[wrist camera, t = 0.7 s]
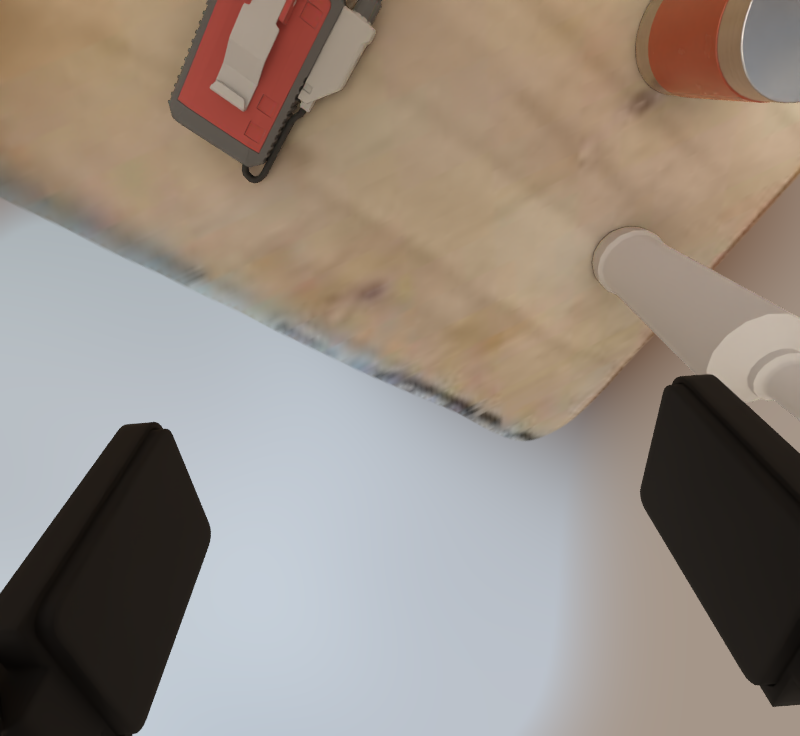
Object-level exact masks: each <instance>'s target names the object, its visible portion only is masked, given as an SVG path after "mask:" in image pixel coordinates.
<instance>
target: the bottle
mask: <svg viewBox="0 0 800 736" xmlns="http://www.w3.org/2000/svg"><path fill="white" fill-rule="evenodd" d="M592 265H593V270H594V274H595V277H596V279H597V280H598V281H599V282H600V283H601V284H602V286H603V287H604V288H605V289H606V290H607V291H609V292H611V293H613V294H616V295H617V296H618V297H619V298H620V299H621V300H622V301H623V302H624V303H625V304H626V305H627V306H628V307H629V308H630V309H631V310H632V311H633V312H634V313H635V314H636V315H637V316H638V317H639V318H640V319H641V320H642V321H643V322H644V323H645V324H646V325H647V326H648V327H649V328H650V329H651V330H652V331H653V332H654V333H655V334H656V335H657V336H658V337H659V338H660V339H661V340H662V341H663V342H664V343H665V344H666V345H667V346H668V347H669V348H670V349H671V350H672V351H673V352H674V353H675V354H676V355H677V356H678V357H679V358H680V359H681V360H682V361H683V362H684V363H685V364H686V365H687V366H688V367H689V368H690V369H691V370H692V371H693V372H694V373H695V374H696V375H703V374H711V375H714V376H716V377H717V378H718V379H719V380H720V381H721V382H723V383H724V384H725V385H726V386H727V387H728V388H729V389H730V390H731V391H732V392H733V393H735V394H736V395H737V396H738V397H739V398H740V399H741V400H742V401H743V402H753V401H756V400H759V399H764V400H766V401H774V400H775V401H776V402H777V403H778V404H780V405H781V406H782V407H783V408H784V409H786V410H787V411H788V412H789V413H791V414H792V415H793V416H794V417H796V418H797V419H798V420H799V421H800V317H798V316H796V315H794V314H792V313H791V312H789V311H787V310H785V309H783V308H781V307H779V306H778V305H776V304H774V303H772V302H770V301H768V300H767V299H765V298H763V297H761V296H759V295H757V294H756V293H754V292H752V291H750V290H748V289H746V288H745V287H743V286H741V285H739V284H737V283H735V282H733V281H732V280H730V279H728V278H726V277H724V276H723V275H721V274H719V273H717V272H715V271H713V270H712V269H710V268H708V267H706V266H704V265H702V264H701V263H699V262H697V261H695V260H693V259H691V258H690V257H688V256H686V255H684V254H682V253H680V252H679V251H677V250H675V249H673V248H671V247H669V246H668V245H666V244H664V243H663V241H662V240H661V239H660V237H659V236H658V235H656V234H654V233H652V232H650V231H648V230H646V229H643V228H641V227H623V228H620V229H618V230H615V231H613V232H611V233H609V234H608V235H607V236H606V237H605V238H604V239H602V240H601V241H600V243H599V245H598V246H597V248H596V250H595V251H594V256H593V261H592Z"/></svg>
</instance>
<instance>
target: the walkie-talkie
mask: <svg viewBox="0 0 800 736" xmlns="http://www.w3.org/2000/svg"><path fill="white" fill-rule="evenodd" d="M381 1H382V0H358V1H357V3H356V5H355V7H354V9H353V10H352V11H351V10H350V9H349V8H348V7H347V6H346V0H208V1H207V3H206V4H207V5H208V6H207V8H206V11H203V15H204V16H203V18H202V21H201V20H200V21H199V24H200V26H199V28H198V30H196V31H195V33H196V36H195V38H194V39H192V46H191V48H189V49H188V52H189V54H188V56H187V57H185V59H184V60H185V64H184V66H182V67H181V69H182V71H181V74H180V75H178V81H177V83H175V85H174V86H175V89H174V91H173V92H171V95H172V96H171V99H170V100H168V103H169V106H170V110H171V113H172V117H173V118H174V119H175V120H176V121H177V122H178V123H180V124H181V125H183V126H184V127H186V128H188V129H189V130H191V131H192V132H194V133H195V134H197V135H198V136H200V137H201V138H203V139H205V140H206V141H208V142H209V143H211V144H212V145H214V146H215V147H217V148H218V149H220V150H222V151H223V152H225V153H226V154H228V155H229V156H231V157H232V158H234V159H236V160H237V161H239V162H240V163H242V172H243V176H244V177H245V178H246V179H247V180H248V181H249V182H252V183H258V182H260V181H262V180H263V179H264V178H265V177H266V176H267V174H268V172H269V170H270V169H271V167H272V165H273V163H274V161H275V159H276V157H277V155H278V153H279V151H280V149H281V147H282V145H283V143H284V141H285V139H286V137H287V135H288V134H289V132H290V130H291V128H292V126H293V125H294V123H295V122H296V121H297V120H298V119H299V118H301V117H303V116H304V114H305V113H306V112H310V111H311V109H312V107H313V105H314V104H315V102H316V100H318V99H320V98H323V97H325V96H328V95H330V94H333V93H335V92H337V91H340V90H343V88H344V86H345V84H346V83H347V81H348V79H349V77H350V75H351V74H352V72H353V70H354V68H355V66H356V64H357V63H358V61H359V59H360V57H361V55H362V54H363V52H364V50H365V48H366V46H367V45H369V44H371V42H372V40H373V38H374V37H375V35H376V30H375V29H374V28H372V27H371V25H372V23H373V21H374V20H375V18H376V16H377V14H378V12H379V10H380V8H381ZM300 100H301V101H302V102H301V104H300V107H301V108H300V110H299V111H298V112H297V113H295V114H294V115H293V113H292V112H293V110H294V109H296V107H297V106H296V104H297V102H298V101H300ZM289 118H290V119H289ZM266 161H267V162H266ZM265 162H266V164H265V166H264V168H263V170H262V172H261V173H260V175H258V176H253V175H252V174H251V173H250V172H249V167H253V166H256V165H260V164H264V163H265Z"/></svg>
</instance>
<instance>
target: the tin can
mask: <svg viewBox="0 0 800 736" xmlns="http://www.w3.org/2000/svg"><path fill="white" fill-rule="evenodd" d="M636 60H637V65H638V68H639V71H640V73H641V76H642V77H643V79H644V80H645V82H646V83H647V84H648V85H649V86H650V87H651V88H653V89H654V90H656V91H658V92H660V93H662V94H666V95H673V96H680V97H687V98H701V99H715V100H729V101H744V102H758V103H764V102H778V103H796V102H800V0H652V1H651V2H650V4H649V6H648V7H647V9H646V11H645V13H644V15H643V17H642V20H641V22H640V26H639V29H638V33H637V38H636Z"/></svg>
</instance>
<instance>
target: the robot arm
mask: <svg viewBox="0 0 800 736" xmlns="http://www.w3.org/2000/svg"><path fill="white" fill-rule="evenodd" d="M640 495H641V501H642V503H643V506H644V508H645V510H646V512H647V514H648V515H649V517H650V519H651V520H652V522H653V523H654V525H655V527H656V529H657V530H658V532H659V533H660V535H661V537H662V539H663V540H664V542H665V544H666V545H667V547H668V549H669V550H670V552H671V554H672V555H673V557H674V559H675V560H676V562H677V564H678V565H679V567H680V569H681V570H682V572H683V574H684V575H685V577H686V579H687V580H688V582H689V584H690V585H691V587H692V589H693V590H694V592H695V594H696V595H697V597H698V599H699V600H700V602H701V604H702V605H703V607H704V609H705V611H706V612H707V614H708V615H709V617H710V619H711V621H712V622H713V624H714V626H715V627H716V629H717V631H718V632H719V634H720V636H721V637H722V639H723V640H724V642H725V644H726V645H727V647H728V649H729V650H730V652H731V654H732V656H733V657H734V659H735V660H736V662H737V664H738V666H739V667H740V669H741V671H742V672H743V674H744V675H745V677H746V678H747V679H748V680H749V681H750V682H751V683H753V684H754V685H760V687H761V689H762V690H763V692H764V693H765V695H766V697H767V698H768V700H769V702H770V703H771V705H772V706H773V707H776V706H789V705H800V453H798V452H797V451H796V450H795V449H794V448H793V447H792V446H791V445H790V444H789V443H788V442H786V441H785V440H784V439H783V438H782V437H781V436H780V435H779V434H778V433H777V432H776V431H775V430H774V429H773V428H771V427H770V426H769V425H768V424H767V423H766V422H765V421H764V420H763V419H761V417H759V416H758V415H757V414H756V413H755V412H754V411H753V410H752V409H751V408H750V407H749V406H747V405H746V404H745V403H744V402H743V401H742V400H741V399H740V398H739V397H738V396H737V395H736V394H735V393H733V392H732V391H731V390H730V389H729V388H728V387H727V386H726V385H725V384H724V383H723V382H721V381H720V380H719V379H718V378H717V377H716V376H714V375H711V374H703V375H692V376H680V377H677V378H676V379H675V380H674V381H673V383H672V385H669V386H667V387H666V388H665V389H664V392H663V395H662V400H661V404H660V408H659V413H658V417H657V421H656V425H655V429H654V433H653V438H652V442H651V446H650V451H649V455H648V459H647V463H646V468H645V472H644V476H643V480H642V484H641V489H640ZM210 538H211V531H210V526H209V522H208V520H207V517H206V515H205V513H204V510H203V508H202V505H201V503H200V500H199V498H198V495H197V493H196V491H195V488H194V486H193V484H192V481H191V479H190V476H189V474H188V471H187V469H186V466H185V464H184V461H183V459H182V457H181V454H180V452H179V449H178V447H177V444H176V442H175V440H174V437H173V435H172V433H171V431H170V430H168V429H163V428H162V426H161V425H160V424H159V423H156V422H150V423H139V424H127V425H124V426H122V427H121V428H120V429H119V430H118V432H117V433H116V434H115V436H114V437H113V438H112V440H111V441H110V443H109V444H108V445H107V447H106V448H105V449H104V451H103V452H102V454H101V455H100V456H99V458H98V459H97V460H96V462H95V463H94V465H93V466H92V467H91V469H90V470H89V471H88V473H87V474H86V476H85V477H84V479H83V480H82V481H81V483H80V484H79V485H78V487H77V488H76V489H75V491H74V492H73V494H72V495H71V496H70V498H69V499H68V501H67V502H66V503H65V505H64V506H63V508H62V509H61V510H60V512H59V513H58V514H57V516H56V517H55V519H54V520H53V521H52V523H51V524H50V525H49V527H48V528H47V530H46V531H45V532H44V534H43V535H42V536H41V538H40V539H39V541H38V542H37V543H36V545H35V546H34V548H33V549H32V550H31V552H30V553H29V555H28V556H27V557H26V559H25V560H24V561H23V563H22V564H21V566H20V567H19V568H18V570H17V571H16V572H15V574H14V575H13V577H12V578H11V579H10V581H9V582H8V584H7V585H6V586H5V588H4V589H3V590H2V592H1V593H0V736H132V734H135V733H137V732H139V731H140V730H141V728H142V727H143V725H144V723H145V721H146V719H147V716H148V713H149V711H150V707H151V705H152V702H153V699H154V696H155V694H156V691H157V688H158V686H159V683H160V680H161V677H162V674H163V672H164V669H165V666H166V663H167V660H168V658H169V655H170V652H171V649H172V647H173V644H174V641H175V638H176V635H177V633H178V630H179V627H180V624H181V622H182V619H183V616H184V613H185V610H186V607H187V605H188V602H189V599H190V597H191V594H192V591H193V588H194V585H195V583H196V580H197V577H198V574H199V571H200V569H201V565H202V563H203V560H204V558H205V555H206V552H207V549H208V546H209V543H210Z"/></svg>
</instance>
